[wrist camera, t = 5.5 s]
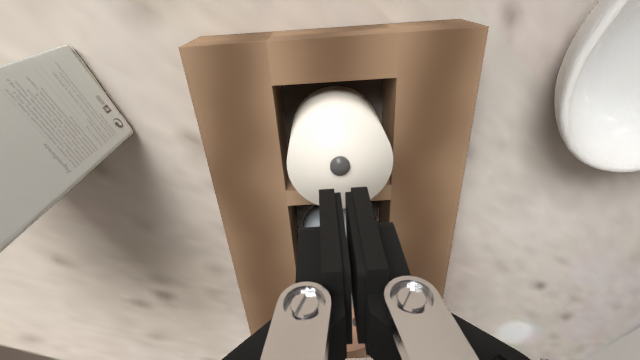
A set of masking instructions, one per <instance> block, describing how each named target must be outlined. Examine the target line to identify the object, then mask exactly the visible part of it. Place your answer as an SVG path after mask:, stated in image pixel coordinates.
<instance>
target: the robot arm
mask: <svg viewBox="0 0 640 360" xmlns="http://www.w3.org/2000/svg"><path fill="white" fill-rule="evenodd" d="M345 205H346V230H345V223H344V215H343V207H342V200H341V193H340V192H337V193H335V192H334V189H319V216H320V226H317V227H301V228H299V230H298V245H297V262H296V279H295V284H293V285H291V286H289V287H288V288H286V289H285V290H284V291H283V292H282V293H281V295H280V297H279V299H278V301H277V304H276V308H275V311H274V315H273V318H272V319H271V320H270V321H268V322H267V323H266V324H265V325H263V326H262V327H261V328H260V329H259V330H257V331H256V332H255V333H254V334H252V335H251V336H250V337H249V338H248V339H246V340H245V341H244V342H243V343H241V344H240V345H239V346H238V347H237V348H235V349H234V350H233V351H232V352H230V353H229V354H228V355H227V356H226V357H224V358H223V359H222V360H345V359H346V358H347V345H348V344H353V339H352V300H353V308H354V316H355V324H356V332H357V340H358V344H365V349H366V355H369V356H370V357H371V358H373V359H374V360H530V359H529V358H528V357H526V356H525V355H523V354H522V353H521V352H519V351H517V350H515V349H514V348H512V347H510V346H508V345H507V344H505V343H503V342H501V341H500V340H498V339H496V338H494V337H493V336H491V335H489V334H487V333H486V332H484V331H482V330H480V329H479V328H477V327H475V326H474V325H472V324H470V323H468V322H467V321H465V320H463V319H461V318H460V317H458V316H456V315H454V314H453V313H451V312H450V311H449V309H448V307H447V306H446V304H445V302H444V301H443V299H442V297H441V296H440V294H439V293H438V291H437V290H436V289H435V287H434V286H433V285H432V284H430V283H429V282H428V281H426V280H424V279H421V278H419V277H414V276H411V274H410V271H409V268H408V265H407V262H406V259H405V256H404V253H403V250H402V247H401V244H400V241H399V238H398V235H397V232H396V229H395V226H394V224H393V222H383V223H376V219H375V215H374V212H373V208H372V204H371V200H370V196H369V193H368V189H367V187H351V192H345ZM351 292H352V297H351ZM540 360H548V359H540Z"/></svg>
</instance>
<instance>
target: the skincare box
mask: <svg viewBox="0 0 640 360" xmlns="http://www.w3.org/2000/svg"><path fill="white" fill-rule="evenodd" d="M132 134H133V130H132V128H131V127H130V125H129V124H128V123H127V121H126V120H125V118H124V117H123V116H122V115H121V114H120V112H119V111H118V110H117V108H116V107H115V106H114V104H113V103H112V101H111V100H110V99H109V97H108V96H107V94H106V93H105V92H104V90H103V89H102V87H101V86H100V84H99V83H98V81H97V80H96V78H95V77H94V76H93V74H92V73H91V72H90V70H89V69H88V68H87V66H86V65H85V63H84V62H83V61H82V59H81V58H80V57H79V55H78V54H77V52H76V51H75V50H74V49H73V47H71V46H69V45H62V46H59V47H56V48H53V49H50V50H47V51H44V52H41V53H38V54H35V55H32V56H29V57H26V58H23V59H20V60H17V61H14V62H11V63H7V64H5V65H1V66H0V252H1V251H3V250H4V249H5V248H6V247H7V246H8V245H9V244H10V243H11V242H13V241H14V240H15V239H16V238H17V237H18V236H19V235H20V234H22V233H23V232H24V231H25V230H26V229H27V228H28V227H29V226H31V225H32V224H33V223H34V222H35V221H36V220H37V219H38V218H39V217H41V216H42V215H43V214H44V213H45V212H46V211H47V210H48V209H49V208H51V207H52V206H53V205H54V204H55V203H56V202H57V201H59V200H60V199H61V198H62V197H63V196H64V195H65V194H66V193H67V192H69V191H70V190H71V189H72V188H73V187H74V186H75V185H76V184H77V183H79V182H80V181H81V180H82V179H83V178H84V177H85V176H86V175H87V174H89V173H90V172H91V171H92V170H93V169H94V168H95V167H96V166H97V165H98V164H100V163H101V162H102V161H103V160H104V159H105V158H106V157H107V156H108V155H110V154H111V153H112V152H113V151H114V150H115V149H116V148H117V147H119V146H120V145H121V144H122V143H123V142H124V141H125V140H126V139H127V138H129V137H130V136H131V135H132Z"/></svg>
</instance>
